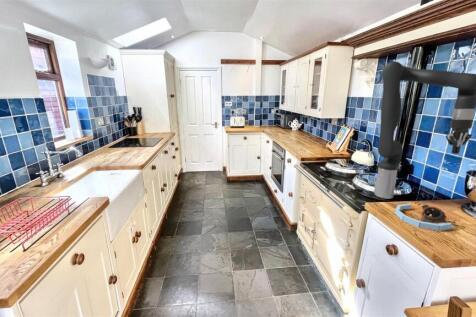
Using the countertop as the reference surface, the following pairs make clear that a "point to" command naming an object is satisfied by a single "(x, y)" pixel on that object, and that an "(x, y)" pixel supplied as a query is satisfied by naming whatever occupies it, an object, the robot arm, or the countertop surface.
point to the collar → (419, 223)
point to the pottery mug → (433, 214)
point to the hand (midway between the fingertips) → (455, 153)
